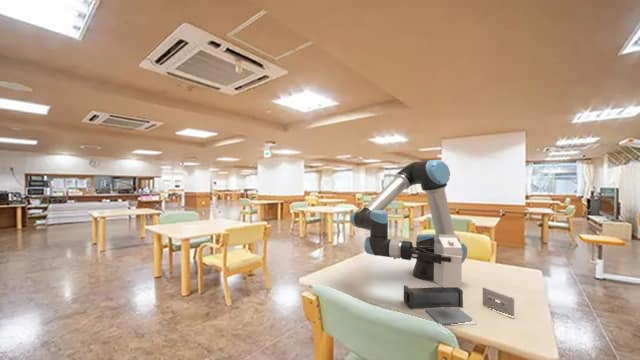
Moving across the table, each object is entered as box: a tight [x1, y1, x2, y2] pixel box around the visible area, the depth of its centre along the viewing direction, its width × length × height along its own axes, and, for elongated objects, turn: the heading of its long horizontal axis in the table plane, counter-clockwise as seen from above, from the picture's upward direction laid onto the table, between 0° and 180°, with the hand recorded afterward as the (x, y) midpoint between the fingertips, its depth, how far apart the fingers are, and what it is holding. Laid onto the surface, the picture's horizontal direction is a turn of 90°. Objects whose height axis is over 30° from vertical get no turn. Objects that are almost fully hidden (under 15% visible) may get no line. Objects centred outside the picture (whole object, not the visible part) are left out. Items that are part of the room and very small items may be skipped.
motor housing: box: [403, 284, 464, 310], centre depth 113 cm, size 23×7×7 cm, turn 95°
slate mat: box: [424, 307, 473, 326], centre depth 102 cm, size 14×11×1 cm
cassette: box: [482, 286, 515, 317], centre depth 107 cm, size 12×2×8 cm, turn 25°
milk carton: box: [433, 234, 463, 288], centre depth 103 cm, size 7×7×19 cm
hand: (462, 257), depth 101 cm, fingers closed on milk carton, 10 cm apart
